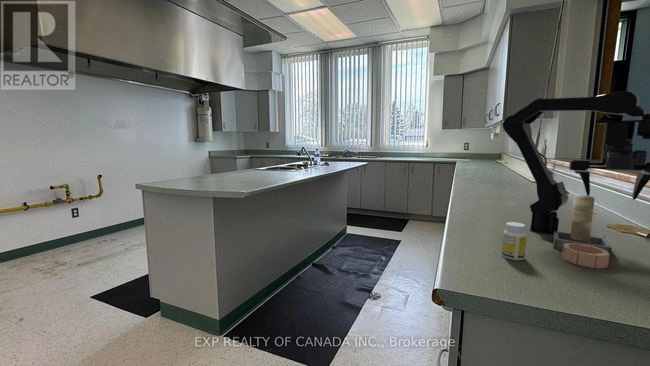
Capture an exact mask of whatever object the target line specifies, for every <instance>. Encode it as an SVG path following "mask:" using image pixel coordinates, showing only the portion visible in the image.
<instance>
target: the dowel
mask: <svg viewBox="0 0 650 366" xmlns="http://www.w3.org/2000/svg"><path fill="white" fill-rule="evenodd" d="M595 200H596V199H595V197H594V196H590V195H589V196H587V195H574V198H573V208H572V216H571V218H572V219H571V227H570V228H571V229H570V233H571V236H570V241H575V242H582V243H588V244H590V236H592V235H591V234H592V226H593V225H592V224H593V216H594V209H595V208H594V207H595Z"/></svg>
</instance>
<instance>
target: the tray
mask: <svg viewBox="0 0 650 366" xmlns="http://www.w3.org/2000/svg"><path fill="white" fill-rule="evenodd" d="M570 236H571V232H563V231H559V230H558V231H554V234H553V237H552V243H553V248H554V249H557V250H562V251H563V245H564V244H566V243H579V244H585V245H591V246H595V247H598V248H601V249H604V250H606V251H608V253H609V258H611V256H612V249H613V248H612V246H611V245H610V243H609V242H608V240H607V238H606V237H600V236H595V235H593V236H592V235H591V236H590V244H588V243H582V242H575V241H570Z"/></svg>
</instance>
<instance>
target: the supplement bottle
mask: <svg viewBox="0 0 650 366" xmlns="http://www.w3.org/2000/svg"><path fill="white" fill-rule="evenodd" d="M525 231H526V224H524V223H521V222H515V221H507V222H506V223H505V230H503V233H502V234H503V235H502V237H503V238H502V250H501V255H502V256H503V257H504V258H506V259H509V260H513V261H523V260H525V257H526V244H527V243H526V242H527V233H526V232H525Z"/></svg>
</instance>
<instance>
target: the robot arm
mask: <svg viewBox="0 0 650 366" xmlns="http://www.w3.org/2000/svg"><path fill="white" fill-rule="evenodd" d="M640 104H641V100H640V98H639V97H638V95H636V94H635V93H633V92H632V91H626V90H621V91H616V92H609V93H604V94H599V95H595V96H589V97H588V96H587V97H561V98H559V97H555V98H554V97H553V98H543V97H540V98H539V97H538V98H535V99H534V100H533V101H531V102H529V104H528V105H526V106H525V107H523V108H521V109H520V110H517V112H515V113H514V114H511V115H509V116H507V117H506V118H505V119H504V120H503V123H502V130H503V131H504V132H505V133H506V134H507V136H508V137H509V138H510V139H511V140H512V141H513V142H514V143H516V146H517V147H518V149H519V151H520V153H521V155H522V157H523V159H524V162H525V163H526V165H527V167H528V169H529V171H530V173H531V175H532V177H533V180H534V182H535V184H536V194H537V198H538V200H536V201H534V202H533V203H532V204H530V205H529V209H530V212H531V219H530V220H531V222H530V227H529V231H531V232H536V233H542V234H543V233H545V234H549V235H550V234H551V235H554V231H558V232H559V223H560V218H559V217H558V213H557V211H559V209H560V208H562V207H564V206H565V205H566V204H567V203H568V201H569V196H568V194H570V192H569V191H567V188H566V187H565V183H564V182H563V181H559V182H557V181H556V180H555V179H554V178H553V176H552V174H551V173H550V171H549V169H548V167H547V164H546V163H545V160H544V159H543V157H542V155H541V153H540V151H539V150H538V147H537V146H536V143H535V141H534V139H533V134H532V133H533V132H532V126H531V124H532V123H534V122H535V121H536V120H537V119H538V118H539V117H541V115H542V114H544V113H546V112H596V113H604V115H603V116H602V117H600V118H599V119H598V120H596V121H595V123H596V124H598V125H603V124H604V133H603V140H602V149H601V158H600V162H592V161H590V160H589V159H571V160H569V163H568V169H569V171H574V173H575V174H579V176H580V178H581V181H582V182H583V187H584V190H585V194H586V196H589V197H590V193H591V185H590V183H591V181H590V175H591V172H590V171H589V169H590V170H591V169H593V170H594V169H595V170H596V169H597V170H598V169H599V170H618V171H621V170H622V171H640V172H637V173H636V178H635V183H634V186H633V190H632V200H634V201H635V200H637V198H638V196H639V195H640V193H641V192H642V190H643V189H644V187H645V186H646V185H647V184H648V183H649V182H650V161H648V160H647V151H646V150H634V151H633V146H634V145H633V144H634V137H635V129H636V123H637V125H638V126H637V132H636V136H637V137H642V141H650V113H647V110H646V109H645V110H644V109H643V108H642V107H641V106H640ZM608 114H612V115H619V116H611V117H610V116H609V115H608ZM625 115H628V116H630V117H633V118H635V119H634V120H632V119H631V120H629V119H628V120H627V119H625ZM636 119H637V120H636ZM646 160H647V161H646Z"/></svg>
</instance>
